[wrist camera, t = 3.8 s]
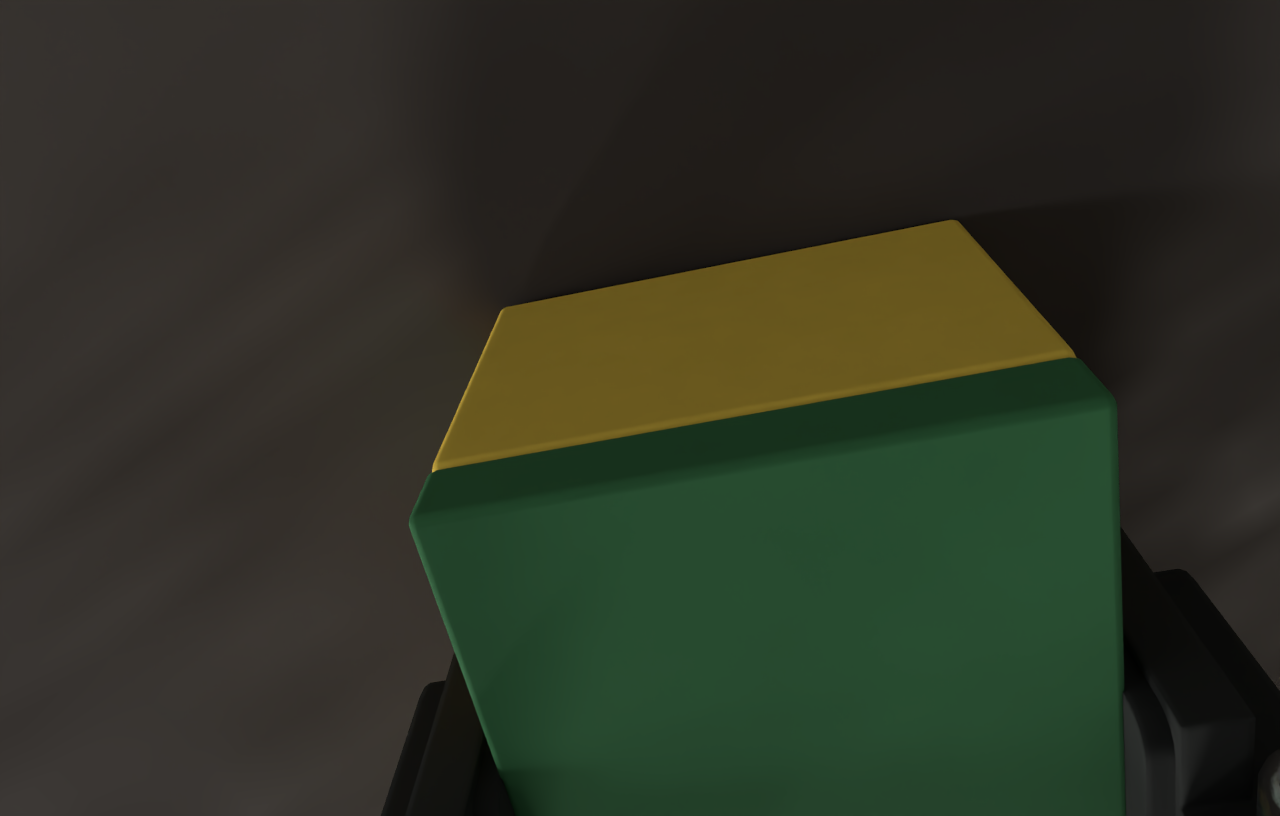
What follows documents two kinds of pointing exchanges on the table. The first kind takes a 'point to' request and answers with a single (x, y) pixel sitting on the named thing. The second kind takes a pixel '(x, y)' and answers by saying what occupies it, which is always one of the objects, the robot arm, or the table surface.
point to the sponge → (788, 544)
